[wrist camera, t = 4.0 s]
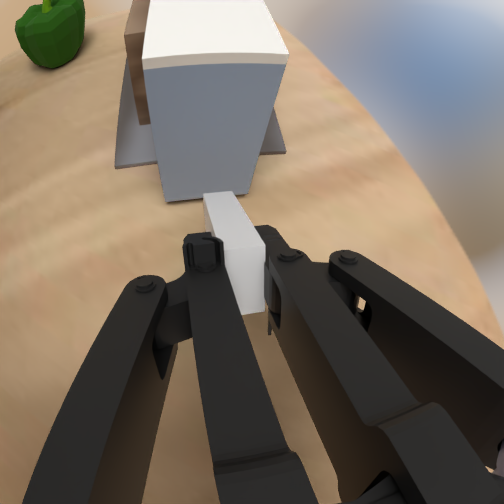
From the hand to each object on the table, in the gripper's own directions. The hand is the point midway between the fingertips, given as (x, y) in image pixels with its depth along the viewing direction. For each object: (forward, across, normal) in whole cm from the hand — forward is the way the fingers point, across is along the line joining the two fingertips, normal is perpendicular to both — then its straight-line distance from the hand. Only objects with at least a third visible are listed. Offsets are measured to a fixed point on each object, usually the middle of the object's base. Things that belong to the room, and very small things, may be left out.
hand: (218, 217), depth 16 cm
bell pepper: (+24, -16, +15) cm, 32 cm away
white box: (+10, 0, +3) cm, 10 cm away
